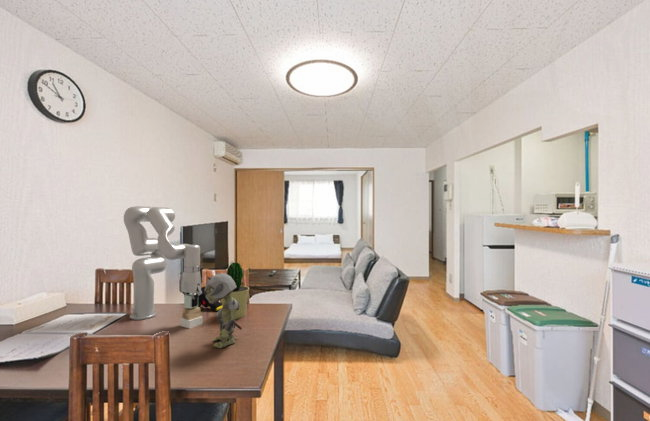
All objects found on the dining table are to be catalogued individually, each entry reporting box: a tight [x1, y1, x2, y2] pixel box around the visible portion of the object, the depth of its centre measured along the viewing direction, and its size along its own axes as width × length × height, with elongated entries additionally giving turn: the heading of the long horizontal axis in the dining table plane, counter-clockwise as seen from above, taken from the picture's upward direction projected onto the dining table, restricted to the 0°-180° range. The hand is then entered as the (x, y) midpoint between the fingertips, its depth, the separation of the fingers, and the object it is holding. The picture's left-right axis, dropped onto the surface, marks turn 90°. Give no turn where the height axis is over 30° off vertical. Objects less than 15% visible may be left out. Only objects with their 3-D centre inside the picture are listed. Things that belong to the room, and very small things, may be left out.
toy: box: [204, 273, 243, 349], centre depth 133 cm, size 15×16×30 cm
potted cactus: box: [220, 261, 250, 320], centre depth 169 cm, size 15×15×30 cm
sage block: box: [183, 293, 197, 309], centre depth 154 cm, size 5×5×6 cm
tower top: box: [181, 307, 201, 320], centre depth 154 cm, size 6×6×4 cm
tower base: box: [179, 315, 204, 329], centre depth 154 cm, size 8×8×4 cm
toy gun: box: [197, 285, 222, 312], centre depth 180 cm, size 5×18×12 cm
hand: (191, 305), depth 154 cm, fingers closed on sage block, 4 cm apart
